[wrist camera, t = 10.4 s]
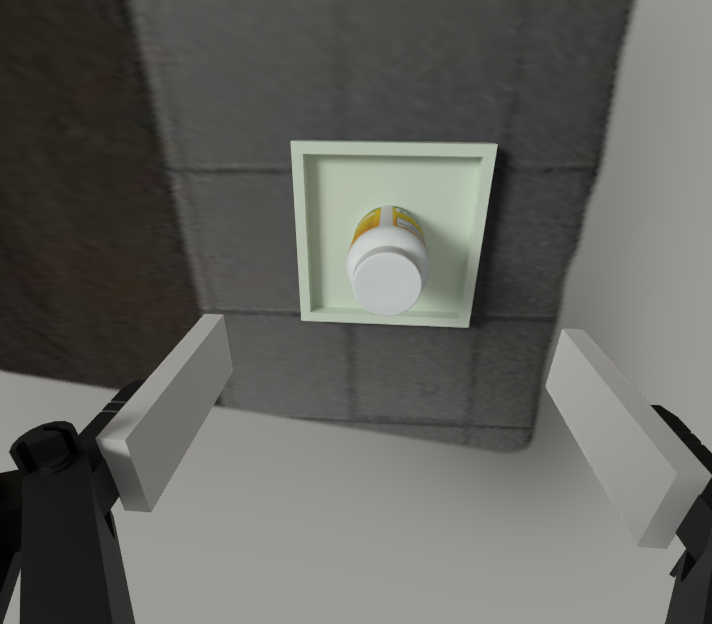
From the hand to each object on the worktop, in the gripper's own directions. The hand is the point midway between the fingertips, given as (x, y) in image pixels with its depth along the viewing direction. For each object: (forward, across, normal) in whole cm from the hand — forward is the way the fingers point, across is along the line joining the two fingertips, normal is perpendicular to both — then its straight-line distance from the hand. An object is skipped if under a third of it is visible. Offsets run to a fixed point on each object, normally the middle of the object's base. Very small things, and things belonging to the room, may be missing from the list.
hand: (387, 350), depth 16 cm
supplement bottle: (+17, 0, -1) cm, 17 cm away
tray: (+18, 0, -1) cm, 18 cm away
